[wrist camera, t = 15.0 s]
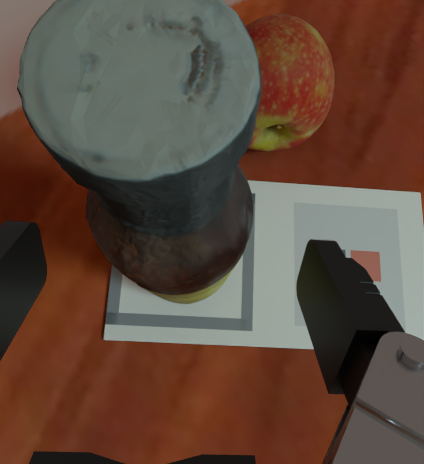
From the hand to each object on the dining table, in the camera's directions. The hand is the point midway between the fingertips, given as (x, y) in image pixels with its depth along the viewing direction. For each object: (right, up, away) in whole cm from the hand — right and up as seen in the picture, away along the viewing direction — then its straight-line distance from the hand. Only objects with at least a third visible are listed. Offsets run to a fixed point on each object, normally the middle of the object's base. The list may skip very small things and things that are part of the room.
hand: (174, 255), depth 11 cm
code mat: (+6, -1, +15) cm, 16 cm away
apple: (+5, +10, +18) cm, 21 cm away
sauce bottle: (-1, -1, +14) cm, 14 cm away
